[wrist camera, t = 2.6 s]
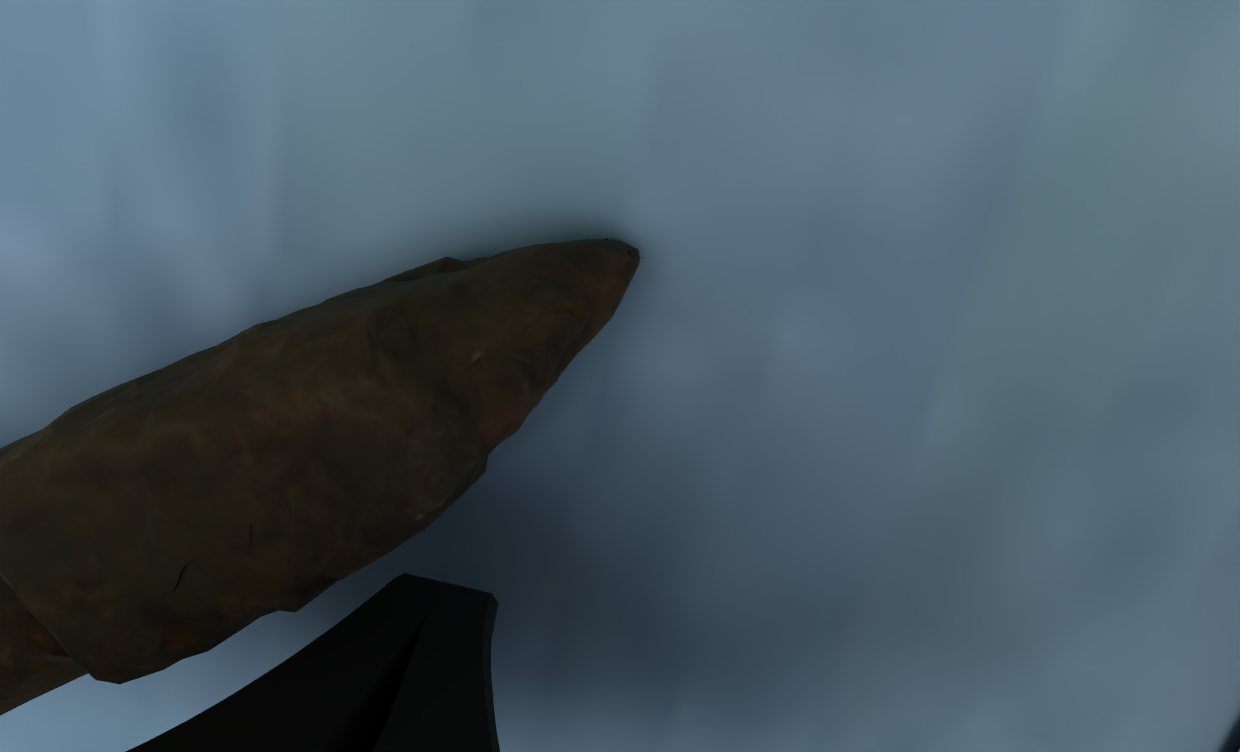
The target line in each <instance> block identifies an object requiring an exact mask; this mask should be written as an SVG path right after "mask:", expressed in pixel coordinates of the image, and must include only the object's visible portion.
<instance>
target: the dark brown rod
mask: <svg viewBox="0 0 1240 752" xmlns="http://www.w3.org/2000/svg"><path fill="white" fill-rule="evenodd" d="M639 261H640V256H639V251H638V249H635V248H633V247H631V246H629V245H627V244H625V243H623V242H621V241H617V240H613V239H612V240H608V239H604V240H578V241H571V242H564V243H550V244H540V245H532V246H528V247H523V248H519V249H514V250H510V251H505V252H503V253H500V254H498V255H495V256H493V257H490V258H478V259H474V260H471V261H468V262H464V261H460V260H457V259H453V258H450V257H445V258H442V259H439V260H437V261H434V262H431V263H428V264H426V265H423V266H420V267H417V268H415V269H412V270H409V271H406V272H404V273H401V274H398V275H396V276H393V277H390V278H388V279H385V280H383V281H382V282H379V283H376V284H374V285H371V286H369V287H364V288H359V289H355V290H352V291H349V292H347V293H344V294H341V295H338V296H335V297H333V298H330V299H327V300H326V301H324V302H323V303H321V304H320V305H316V306H313V307H309V308H306V309H302V310H299V311H297V312H294V313H292V314H289V315H287V316H285V317H282V318H280V319H278V320H274V321H270V322H266V323H261V324H257V325H254V326H253V327H251V328H249V329H248V330H245V331H243V332H241V333H239V334H238V335H236V336H234V337H232V338H230V339H229V340H226V341H224V342H222V343H221V344H219V345H217V346H214V347H212V348H209V349H206V350H203V351H201V352H198V353H195V354H192V355H190V356H187V357H185V358H183V359H181V360H179V361H177V362H175V363H173V364H171V365H169V366H167V367H164V368H162V369H160V370H157V371H155V372H152V373H149V374H147V375H144V376H142V377H139V378H136V379H134V380H131V381H129V382H126V383H123V384H121V385H118V386H116V387H114V388H112V389H109V390H107V391H105V392H103V393H100V394H98V395H96V396H94V397H91V398H89V399H87V400H85V401H83V402H81V403H79V404H77V405H75V406H73V407H71V408H70V409H69V410H67V411H66V412H65V413H63V414H62V415H61V416H60V417H58V418H57V419H56V420H54V421H53V422H52V423H50V424H49V425H48V426H47V427H45V428H44V429H42V430H40V431H38V432H36V433H33V434H31V435H29V436H27V437H24V438H22V439H20V440H18V441H15V442H13V443H11V444H9V445H7V446H5V447H3V448H1V449H0V715H2V714H4V713H6V712H8V711H10V710H12V709H14V708H16V707H18V706H20V705H22V704H24V703H26V702H28V701H30V700H32V699H34V698H36V697H38V696H40V695H43V694H45V693H47V692H49V691H51V690H53V689H55V688H58V687H60V686H62V685H64V684H66V683H68V682H70V681H72V680H75V679H77V678H79V677H81V676H83V675H85V674H87V673H89V674H90V675H91V676H92V677H93V678H94V679H95V680H99V681H105V682H111V683H116V684H122V683H125V682H128V681H131V680H134V679H137V678H140V677H143V676H146V675H149V674H152V673H155V672H158V671H161V670H164V669H165V668H167V667H169V666H171V665H173V664H174V663H176V662H178V661H180V660H182V659H184V658H187V657H191V656H194V655H197V654H200V653H204V652H207V651H209V650H211V649H212V648H214V647H215V646H217V645H218V644H220V643H221V642H223V641H224V640H226V639H228V638H229V637H231V636H232V635H234V634H235V633H237V632H238V631H240V630H242V629H243V628H245V627H246V626H248V625H249V624H251V623H252V622H253V621H255V620H256V619H258V618H259V617H261V616H264V615H266V614H269V613H272V612H275V611H278V610H282V611H289V612H297V611H298V610H299V609H301V608H302V607H303V606H305V605H306V604H307V603H309V602H310V601H311V600H313V599H314V598H315V597H317V596H318V595H319V594H321V593H322V592H323V591H325V590H326V589H328V588H329V587H330V586H332V585H333V584H334V583H335V582H337V581H338V580H339V579H343V578H345V577H347V576H348V575H350V574H352V573H354V572H355V571H357V570H359V569H361V568H363V567H364V566H366V565H368V564H370V563H372V562H373V561H375V560H377V559H378V558H380V557H382V556H384V555H385V554H387V553H389V552H390V551H392V550H393V549H395V548H396V547H397V546H399V545H400V544H402V543H403V542H405V541H406V540H408V539H409V538H411V537H413V536H414V535H416V534H417V533H419V532H421V531H422V530H424V529H425V528H426V527H427V526H428V525H430V524H431V523H432V522H433V521H434V520H435V519H436V518H437V517H438V516H439V515H441V514H442V513H443V512H444V511H445V510H446V509H447V508H448V507H449V506H450V505H451V504H453V503H454V502H455V501H456V500H457V499H458V498H459V497H460V496H461V495H462V494H464V493H465V492H466V491H467V490H468V489H469V488H470V487H471V486H472V485H473V484H474V483H475V482H476V481H477V480H478V479H479V478H480V477H481V476H482V475H483V474H484V473H485V472H486V465H487V456H488V454H489V453H490V452H491V451H492V450H493V449H494V448H495V447H496V446H497V445H498V444H499V443H500V442H502V441H503V440H505V439H506V438H508V437H509V436H511V435H512V434H513V433H515V432H516V431H517V430H518V429H519V427H520V426H521V424H522V423H523V421H524V420H525V418H526V417H527V415H528V414H529V413H530V411H531V410H532V409H533V408H534V407H535V406H536V405H538V403H539V401H540V400H541V398H542V397H543V395H544V394H545V393H546V392H547V390H548V389H549V388H550V387H551V386H552V385H553V384H554V383H555V382H556V381H557V380H558V377H559V376H560V374H561V373H562V372H563V371H564V369H565V368H566V367H567V366H568V364H569V363H570V362H571V361H572V359H573V358H574V357H575V356H576V355H577V353H578V352H579V351H580V350H582V349H583V348H584V347H585V346H586V345H587V344H588V343H589V342H590V341H591V340H592V339H593V338H594V337H595V335H596V334H597V333H598V332H599V331H600V330H601V329H602V328H603V326H604V325H605V324H606V323H607V322H608V321H609V320H610V319H611V317H612V316H613V314H614V312H615V311H616V309H617V307H618V305H619V303H620V302H621V300H622V297H623V295H624V293H625V291H626V289H627V287H628V285H629V283H630V281H631V279H632V277H633V275H634V273H635V271H636V269H637V267H638V265H639Z"/></svg>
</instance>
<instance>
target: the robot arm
mask: <svg viewBox="0 0 1240 752" xmlns="http://www.w3.org/2000/svg"><path fill="white" fill-rule="evenodd" d="M498 604H499V603H498V601H497V600H496V598H495V597H494V595H493V594H492V593H488V592H484V591H480V590H475V589H471V588H467V587H462V586H458V585H453V584H449V583H445V582H440V581H436V580H432V579H427V578H423V577H419V576H414V575H410V574H406V573H403V574H402V575H400V576H398V577H396V578H395V579H393V580H392V581H391V582H390V583H388V584H387V585H386V586H385V587H383V588H382V589H381V590H380V591H378V592H377V593H376V594H375V595H374V596H372V597H371V598H370V599H369V600H367V601H366V602H365V603H363V604H362V605H361V606H360V607H358V608H357V609H356V610H355V611H353V612H352V613H351V614H349V615H348V616H347V617H345V618H344V619H343V620H341V621H340V622H339V623H338V624H336V625H335V626H333V627H332V628H331V629H329V630H328V631H327V632H325V633H324V634H322V635H321V636H320V637H318V638H317V639H315V640H314V641H313V642H311V643H310V644H308V645H307V646H306V647H304V648H303V649H301V650H300V651H299V652H297V653H296V654H294V655H293V656H291V657H290V658H289V659H287V660H286V661H284V662H283V663H281V664H279V665H278V666H276V667H275V668H273V669H272V670H270V671H269V672H267V673H265V674H264V675H262V676H261V677H259V678H258V679H256V680H254V681H253V682H251V683H250V684H248V685H247V686H245V687H243V688H242V689H240V690H239V691H237V692H236V693H234V694H232V695H231V696H229V697H227V698H226V699H224V700H222V701H221V702H219V703H217V704H215V705H214V706H212V707H210V708H209V709H207V710H205V711H203V712H202V713H200V714H198V715H196V716H194V717H193V718H191V719H189V720H187V721H185V722H183V723H182V724H180V725H178V726H176V727H174V728H172V729H170V730H168V731H166V732H165V733H163V734H161V735H159V736H157V737H155V738H153V739H151V740H149V741H147V742H145V743H143V744H141V745H139V746H137V747H135V748H133V749H130V750H128V751H126V752H500V749H499V743H498V737H497V730H496V722H495V714H494V704H493V691H492V679H491V638H492V633H493V628H494V623H495V619H496V614H497V609H498ZM1238 752H1240V749H1239V751H1238Z"/></svg>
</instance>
